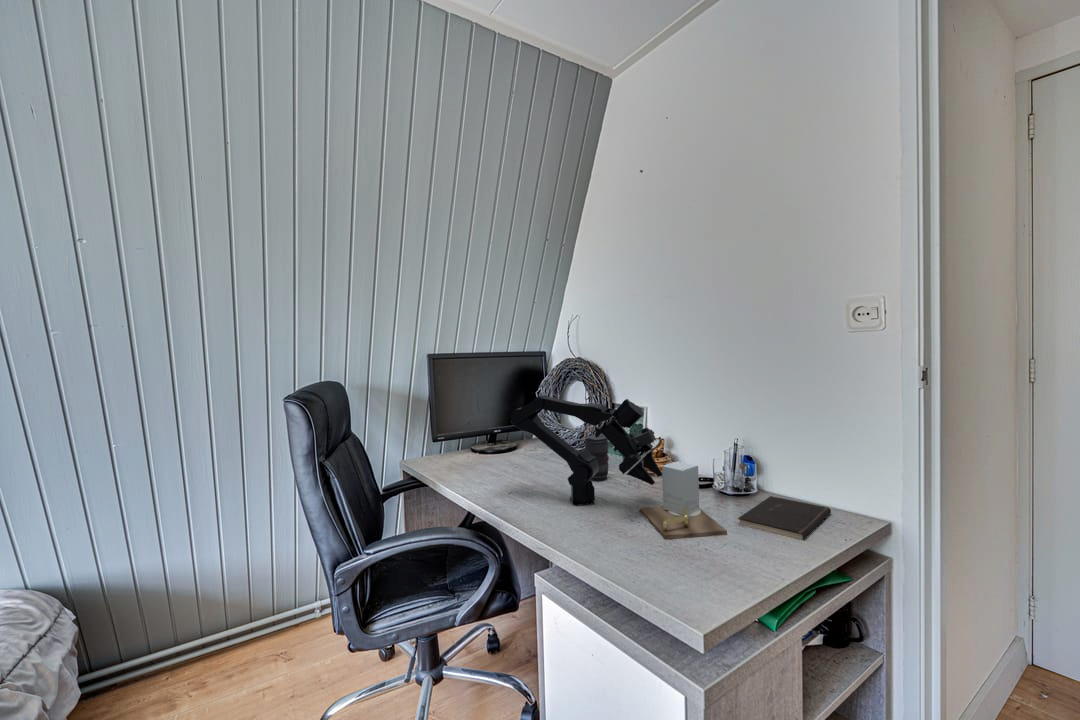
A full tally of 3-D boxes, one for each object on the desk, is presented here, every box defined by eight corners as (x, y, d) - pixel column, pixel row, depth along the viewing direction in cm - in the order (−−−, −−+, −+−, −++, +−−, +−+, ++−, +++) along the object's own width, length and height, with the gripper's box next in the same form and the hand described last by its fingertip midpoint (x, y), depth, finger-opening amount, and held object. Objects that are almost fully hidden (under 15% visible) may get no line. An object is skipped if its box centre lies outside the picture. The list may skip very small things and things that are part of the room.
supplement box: (700, 509, 138) (699, 465, 137) (683, 516, 133) (682, 470, 133) (678, 503, 143) (677, 460, 143) (662, 509, 139) (661, 465, 139)
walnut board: (664, 539, 122) (664, 534, 122) (639, 511, 141) (639, 506, 141) (727, 534, 123) (726, 529, 123) (693, 507, 143) (693, 503, 143)
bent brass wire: (677, 535, 121) (676, 523, 121) (662, 531, 124) (662, 519, 124) (698, 521, 130) (698, 509, 130) (684, 517, 133) (683, 506, 132)
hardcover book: (737, 526, 130) (737, 517, 130) (770, 503, 146) (770, 495, 146) (803, 543, 118) (803, 533, 118) (831, 516, 134) (831, 507, 134)
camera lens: (595, 474, 180) (594, 433, 180) (613, 478, 175) (612, 436, 174) (581, 479, 175) (580, 437, 174) (599, 483, 169) (598, 440, 168)
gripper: (629, 426, 133) (671, 470, 129) (646, 415, 150) (683, 453, 146) (602, 452, 137) (641, 495, 133) (621, 438, 154) (657, 477, 150)
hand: (657, 479), depth 140 cm, fingers open, 9 cm apart
